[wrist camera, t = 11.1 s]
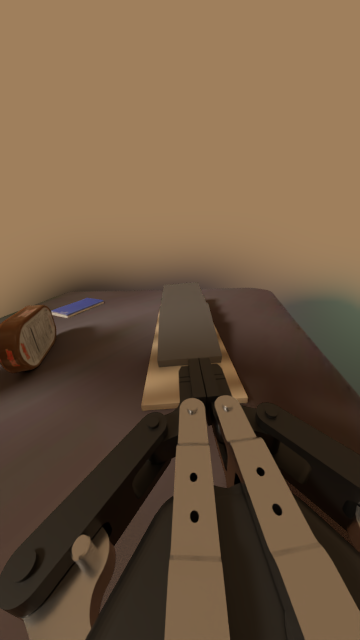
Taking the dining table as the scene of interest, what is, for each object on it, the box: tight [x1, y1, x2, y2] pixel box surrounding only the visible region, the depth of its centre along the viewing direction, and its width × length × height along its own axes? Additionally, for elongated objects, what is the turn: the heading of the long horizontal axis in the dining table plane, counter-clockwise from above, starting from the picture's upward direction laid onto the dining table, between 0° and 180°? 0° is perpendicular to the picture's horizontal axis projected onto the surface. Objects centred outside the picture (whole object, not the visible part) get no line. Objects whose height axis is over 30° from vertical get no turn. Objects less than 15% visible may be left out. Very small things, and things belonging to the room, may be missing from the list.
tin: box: [0, 305, 56, 373], centre depth 32 cm, size 15×3×8 cm, turn 16°
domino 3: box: [161, 295, 206, 306], centre depth 35 cm, size 2×9×12 cm
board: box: [141, 315, 248, 411], centre depth 35 cm, size 30×12×1 cm, turn 2°
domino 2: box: [162, 288, 202, 298], centre depth 40 cm, size 2×9×12 cm
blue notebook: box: [51, 298, 104, 318], centre depth 56 cm, size 2×8×12 cm
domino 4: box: [157, 303, 222, 367], centre depth 30 cm, size 2×9×12 cm
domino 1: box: [164, 283, 199, 291], centre depth 44 cm, size 2×9×12 cm
